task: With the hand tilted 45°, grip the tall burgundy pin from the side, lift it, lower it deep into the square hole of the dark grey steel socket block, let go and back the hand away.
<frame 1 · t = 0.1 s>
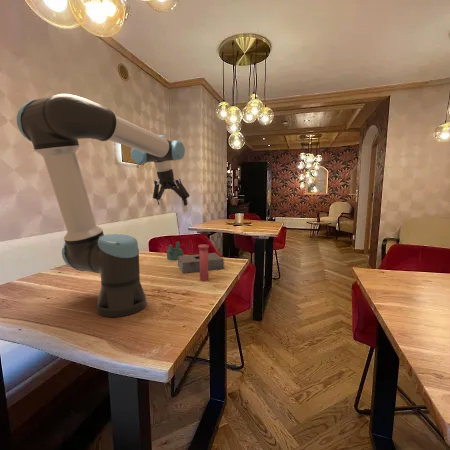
hand: (174, 211, 131), 28 cm above the table, tool tilted 20°, fingers open, 13 cm apart
pin: (204, 279, 110), on the table
green knobbed block: (175, 259, 147), on the table
socket block: (200, 267, 129), on the table
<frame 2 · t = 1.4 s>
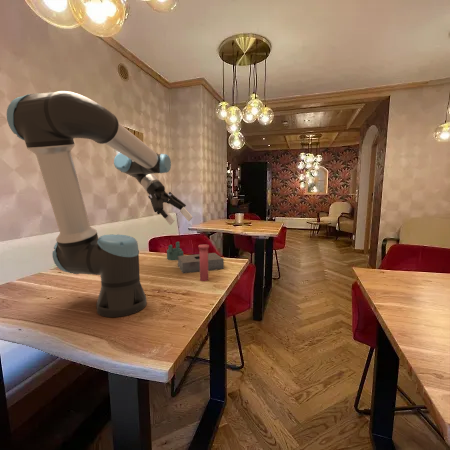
hand: (182, 220, 112), 25 cm above the table, tool tilted 45°, fingers open, 13 cm apart
nothing on the table moved.
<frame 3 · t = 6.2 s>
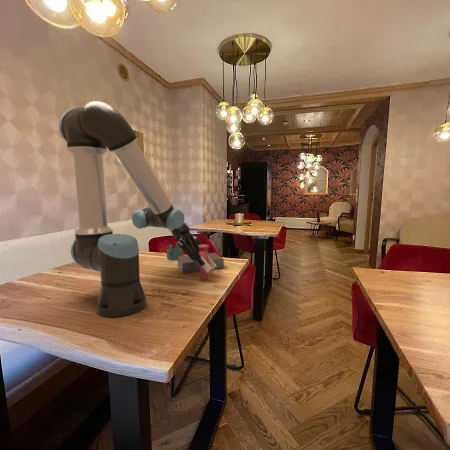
hand: (211, 269, 108), 5 cm above the table, tool tilted 45°, fingers closed on pin, 3 cm apart
pin: (204, 279, 110), on the table, touching gripper
everything else where it was.
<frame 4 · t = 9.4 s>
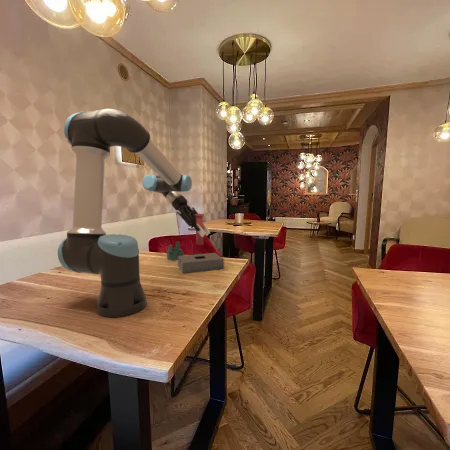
hand: (206, 234, 126), 17 cm above the table, tool tilted 45°, fingers closed on pin, 3 cm apart
pin: (199, 244, 128), point 12 cm above the table, touching gripper
everything else where it was.
when the fingers open (7 cm above the table, at t = 12.5 s): pin drops 2 cm, resting in socket block.
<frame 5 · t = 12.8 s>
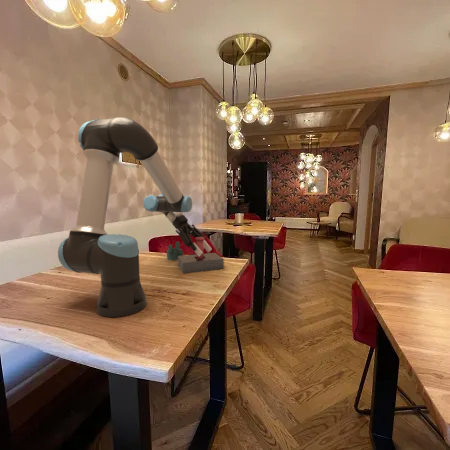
hand: (205, 252, 127), 8 cm above the table, tool tilted 45°, fingers open, 8 cm apart
pin: (200, 267, 129), resting in socket block
everything else where it was.
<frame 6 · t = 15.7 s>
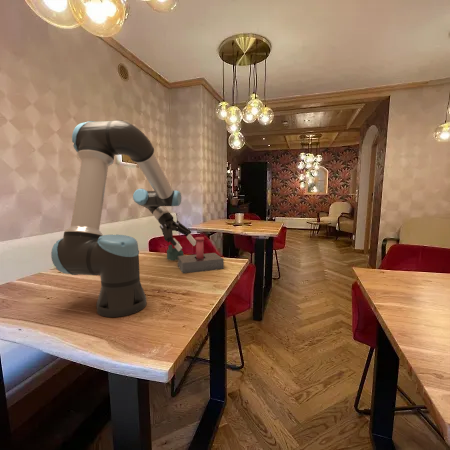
hand: (188, 247, 131), 10 cm above the table, tool tilted 45°, fingers open, 13 cm apart
nothing on the table moved.
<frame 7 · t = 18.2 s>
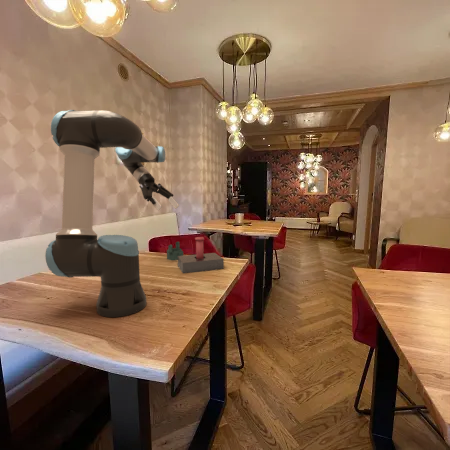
hand: (169, 207, 128), 30 cm above the table, tool tilted 45°, fingers open, 13 cm apart
nothing on the table moved.
at the end: pin 0.0 cm off-centre on the socket block, point 0.0 cm above the socket block's base; pin tilted 0°; the gripper is holding nothing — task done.
